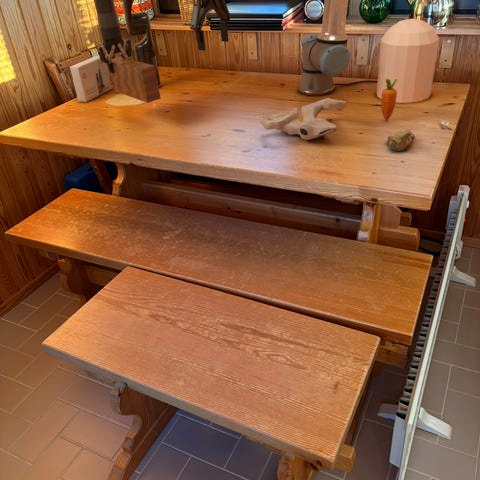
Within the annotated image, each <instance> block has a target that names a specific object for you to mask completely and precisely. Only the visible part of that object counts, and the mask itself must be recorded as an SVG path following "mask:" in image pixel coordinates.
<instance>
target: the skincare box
mask: <svg viewBox="0 0 480 480" xmlns="http://www.w3.org/2000/svg"><path fill="white" fill-rule="evenodd" d="M105 57H106V55H105ZM69 70H70V74H71V78H72V82H73V86H74V90H75V94H76V98H77V102H81V103H82V102H84V103H87V102H89V101H91V100H93V99H95V98H97V97H100V96H101V95H103V94H105V93H107V92H108V91H110V90H112V89H113V85H112V84H111V82H112V80H111V76H110V72H109V70H108V66H107V63H104V62H101V59H100V57H99V54H98V55H95V56H92V57H90V58H87V59H85V60H83V61H80V62H78V63H75V64H73V65H71V66H69Z"/></svg>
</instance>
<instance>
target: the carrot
mask: <svg viewBox="0 0 480 480" xmlns="http://www.w3.org/2000/svg"><path fill="white" fill-rule="evenodd" d="M396 81H397V79H395V80H394V82H393V84H391V82H390V79H386V83H387V85H386V87H387V88H386V89H384V90H383V91H382V98H380V99H381V100H380V101H381V102H380V104H381V112H382V113H381V114H382V117H383V119H384V120H385V121H386V122H388V121H389V119H390V118H391V117H392V114H393V112H394V109H395V106H396V103H397V102H396V95H397V91H396V90H395V89H394V88H393V86H394V84H395V83H396ZM389 85H390V86H389ZM391 85H392V86H391Z"/></svg>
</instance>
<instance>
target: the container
mask: <svg viewBox="0 0 480 480" xmlns="http://www.w3.org/2000/svg"><path fill="white" fill-rule="evenodd" d="M439 41H440V37H439V35H438V34H437V31H436V30H435V28H434V27H433V25H431V24H429V23H428V22H426V21H425V20H423V19H419V18H418V19H416V18H407V19H402V20H400V21H398V22H396V23H395V24H393V25H392V26H390V27H389V28H388V29H387V30H386V31H385V33H384V34H383V35H382V37H381V38H380V41H379V42H380V43H379V53H378V54H379V55H378V68H377V80H376V81H377V83H376V92H375V94H376V96H377V98H379V99H381V98H382V91H383V90H384V89H386V88H387V87H386V85H387V83H386V79H390V82H391V84H393V82H394V80H395V79H397V81H396V83H395V84H394V86H393V88H394V89H395V90H396V91H397V95H396V102H395V103H401V104H403V103H406V104H407V103H416V102H422V101H425V100H427V99H429V98H430V96H431V94H432V89H433V82H434V75H435V68H436V62H437V55H438V48H439ZM389 86H390V85H389ZM391 86H392V85H391Z"/></svg>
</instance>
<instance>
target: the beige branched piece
mask: <svg viewBox="0 0 480 480" xmlns="http://www.w3.org/2000/svg"><path fill="white" fill-rule="evenodd" d="M346 107H347V102H346V101H345V100H341V99H334V98H329V97H327V98H324V99H321V100H317V101H314V102H312V103H311V102H310V103H309V104H306V105H303V106H302V107H301V109H300V110H301V111H300V112H301V117H302V121H299V120H297V119H298V118H299V108H298V107H297V106H296V107H293V108H291V111H290V112H289V113H288V114H286V113H284V112H277V113H273V114H267V115H262V116H260V117H259V122H260V124H261V126H262V127H263V128H265V129H266V130H267V131H269V130H276V131H283V132H285V133H286V134H288V135H289V136H291V135H299V137H300V138H301V139H303V140H305V141H310V140H315V139H318V138H321V137H324V136H326V135H328V134H331V133H333V132H335V131H336V130H337V128H338V127H337V125H336V123H334V122H329V120H327V119H325V118H323V117H318V115H319V113H320V112H321V111H333V110H338V111H341V112H342V111H344V109H345V108H346Z"/></svg>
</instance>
